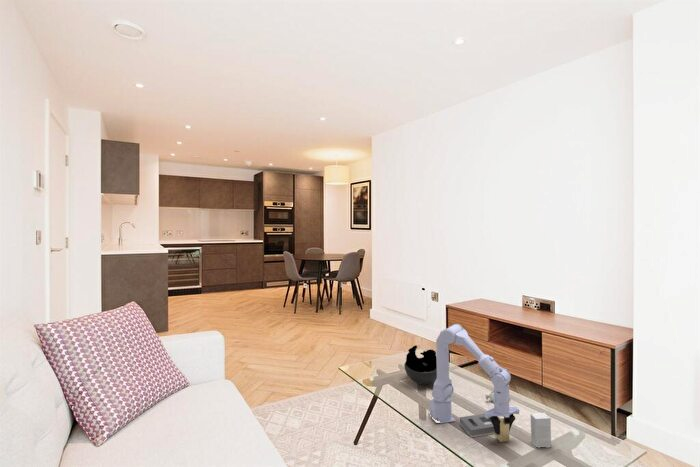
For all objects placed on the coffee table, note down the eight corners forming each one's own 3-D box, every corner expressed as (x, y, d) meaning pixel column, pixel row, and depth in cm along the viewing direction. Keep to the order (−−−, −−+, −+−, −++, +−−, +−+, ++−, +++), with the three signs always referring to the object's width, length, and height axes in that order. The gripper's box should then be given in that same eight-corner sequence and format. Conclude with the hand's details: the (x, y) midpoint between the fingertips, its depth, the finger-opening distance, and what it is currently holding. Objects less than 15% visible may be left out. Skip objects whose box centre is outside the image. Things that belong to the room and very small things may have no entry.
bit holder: (471, 437, 153) (471, 430, 153) (459, 423, 163) (459, 417, 163) (506, 431, 156) (506, 424, 156) (492, 418, 166) (492, 412, 166)
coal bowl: (445, 390, 193) (444, 355, 192) (407, 392, 193) (406, 357, 192) (437, 374, 213) (436, 342, 212) (402, 375, 213) (401, 343, 212)
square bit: (500, 441, 148) (500, 425, 148) (494, 436, 152) (494, 419, 151) (509, 440, 149) (509, 423, 148) (503, 434, 153) (503, 418, 152)
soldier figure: (513, 405, 179) (494, 402, 175) (506, 408, 182) (487, 406, 178) (507, 388, 184) (489, 386, 180) (501, 392, 187) (482, 389, 183)
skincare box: (545, 441, 149) (544, 412, 148) (551, 447, 145) (551, 418, 144) (530, 441, 149) (530, 413, 148) (536, 448, 144) (535, 419, 144)
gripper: (490, 407, 144) (491, 440, 145) (524, 402, 147) (524, 435, 147) (481, 398, 151) (481, 430, 152) (513, 394, 154) (513, 425, 154)
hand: (502, 432), depth 150 cm, fingers closed on square bit, 4 cm apart
